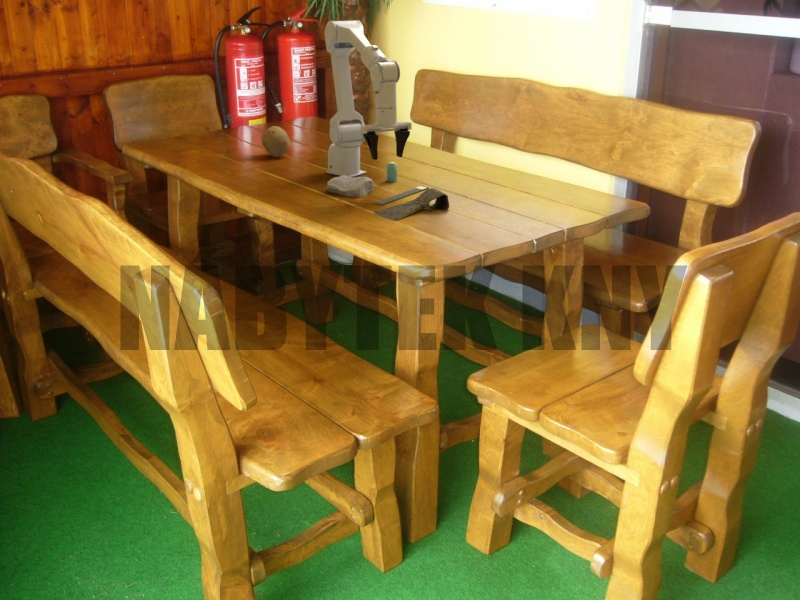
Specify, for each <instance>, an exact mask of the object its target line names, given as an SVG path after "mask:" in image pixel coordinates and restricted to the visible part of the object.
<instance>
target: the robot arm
mask: <svg viewBox="0 0 800 600" xmlns="http://www.w3.org/2000/svg"><path fill="white" fill-rule="evenodd" d="M324 28H325V29H324V34H323V35H324V41H325V49H326V52H327V53H329V54H330V59H331V68H332V77H333V84H334V94H335V100H336V109H337V112H336V113H335V114H334V115H333V116H332V117H331V118H330V119H329V138H330V140H331V142H332V143H330V145H329V146H328V147H329V148H328V149H327V150H328V151H327V170H326V171H325V172H326V173H327V174H331V175H335V176H338V177H340V176H341V175H346V176H348V177H351V178H355V177H359V176H361V175H365V174H366V173H367V171H366V170H362V169H361V146H362V145H363V142H364V141H365V142H366V144H367V146H368V149H369V151H370V155H371V159H372V160H375V161H377V160H378V155H379V154H378V152H379V151H378V145H379V144H378V141H379V136H380V135H378V134H377V133H382V132H384V133H385V132H394V137H395V144H396V145H395V147H396V149H395V151H396V157H398V158H402V157H403V156H404V155H403V153H404V150H405V147H406V144H407V141H408V139H409V137H410V135H411V130H412V129H413V128H412V126H413V125H412V122H411V121H403V122H402V121H399V122H397V121H398V117H397V114H398V113H397V112H398V111H397V83H398V82H399V80H400V78H401V70H400V65H399V64H398V62H397V60H391V59H388V58H387V56H386V55H385V54H384V53H383V52H382V51H381V49H380V48H379V46H378V45H375V44H371V43H370V42H369V40H368V39H367V37H366V36H365V33H364V32H365V31H364V30H365V29H364V25H363V23H362V22H361V21H360V20H358V19H355V20H328V21H327V23H326V25H325V27H324ZM355 50H356V51H358V52H359V53H360V60H361V62H362V63H363V64H364V66H365V67H366V68H367V70H368V71H369V72H370V73H369V75H370V80H371V84H372V89H373V90H372V91H374V97H375V98H374V100H375V101H374V102H375V103H374V104H375V105H374V107H375V123H372V124H365V123H364V117H363V115H362V114H360V113H359V112H358V111H356V110H355V103H354V94H353V93H354V92H353V85H352V77H351V69H350V60H349V59H350V58H349V55H350V54H351V52H353V51H355Z"/></svg>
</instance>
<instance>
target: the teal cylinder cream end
mask: <svg viewBox="0 0 800 600" xmlns="http://www.w3.org/2000/svg"><path fill="white" fill-rule="evenodd" d="M397 180H398V164H397V163H396V162H395V161H389V162H388V163H387V164H386V182H388V183H396V182H397Z"/></svg>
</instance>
